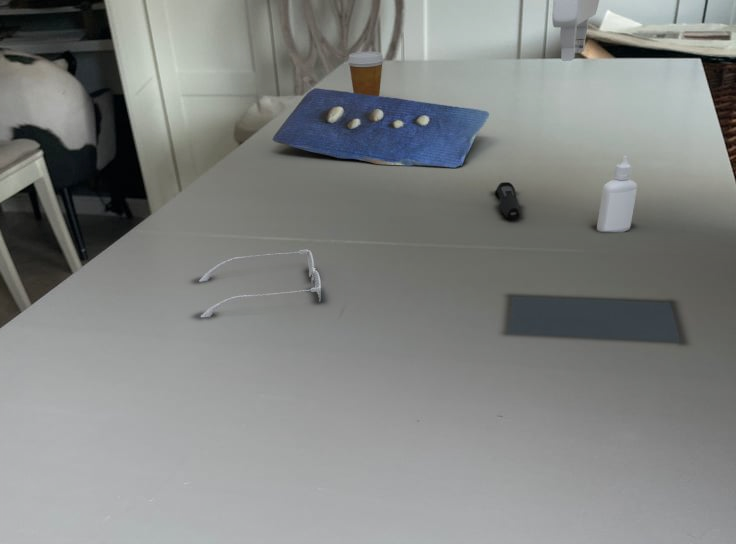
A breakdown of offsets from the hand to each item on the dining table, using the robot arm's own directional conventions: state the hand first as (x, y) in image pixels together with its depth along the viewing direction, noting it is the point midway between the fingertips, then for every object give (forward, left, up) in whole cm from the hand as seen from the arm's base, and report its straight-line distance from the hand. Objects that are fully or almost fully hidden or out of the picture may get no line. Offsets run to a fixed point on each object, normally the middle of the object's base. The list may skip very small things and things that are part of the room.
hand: (572, 56), depth 124 cm
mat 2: (-5, +37, -26) cm, 46 cm away
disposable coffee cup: (+49, -90, -27) cm, 106 cm away
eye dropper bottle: (-10, +1, -27) cm, 28 cm away
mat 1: (+38, -50, -27) cm, 68 cm away
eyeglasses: (+44, +33, -27) cm, 61 cm away
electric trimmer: (+8, -9, -27) cm, 29 cm away
